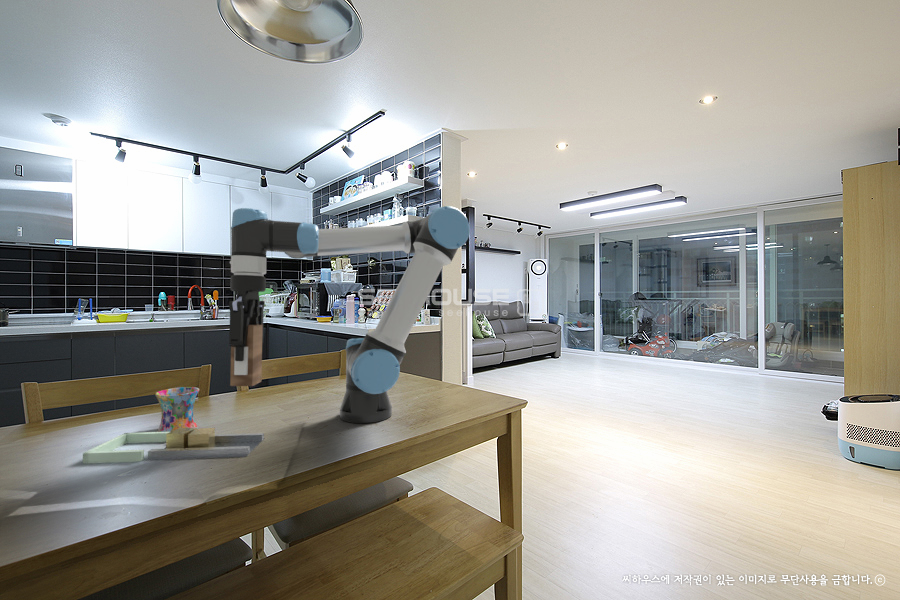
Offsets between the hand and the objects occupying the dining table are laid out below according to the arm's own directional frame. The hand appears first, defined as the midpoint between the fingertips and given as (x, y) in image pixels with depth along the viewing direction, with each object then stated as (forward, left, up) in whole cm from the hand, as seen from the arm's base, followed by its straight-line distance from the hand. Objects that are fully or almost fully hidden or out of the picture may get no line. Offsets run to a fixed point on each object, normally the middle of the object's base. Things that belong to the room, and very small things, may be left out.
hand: (246, 372), depth 93 cm
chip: (+12, +5, -16) cm, 21 cm away
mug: (+21, -11, -17) cm, 29 cm away
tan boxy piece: (+7, +5, -16) cm, 19 cm away
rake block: (0, 0, -3) cm, 3 cm away
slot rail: (+6, +5, -17) cm, 19 cm away
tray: (+22, +5, -17) cm, 28 cm away
